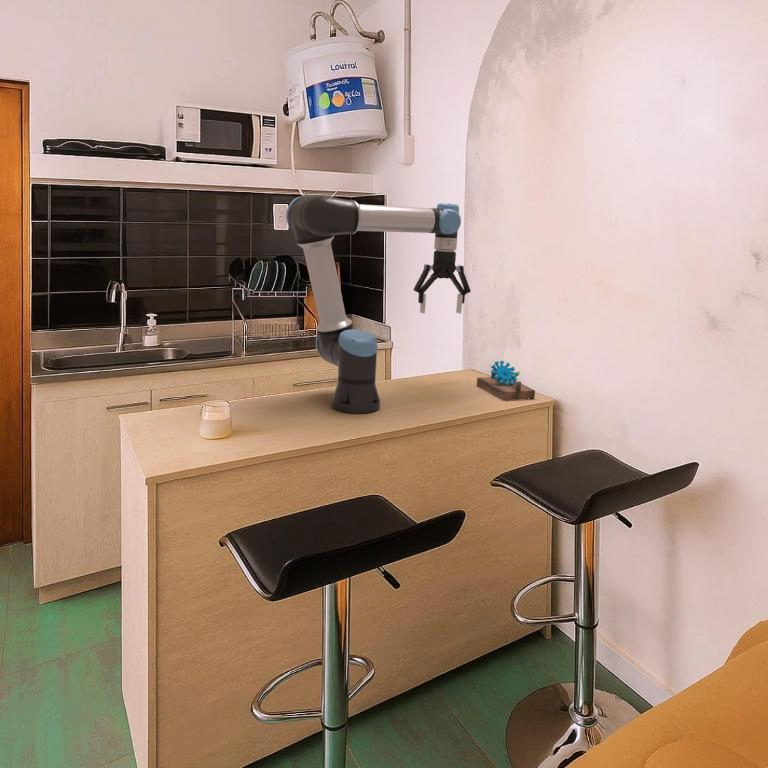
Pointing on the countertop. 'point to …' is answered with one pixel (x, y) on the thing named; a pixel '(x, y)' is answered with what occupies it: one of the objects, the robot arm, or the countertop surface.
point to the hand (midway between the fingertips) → (440, 313)
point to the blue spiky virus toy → (504, 373)
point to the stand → (505, 388)
